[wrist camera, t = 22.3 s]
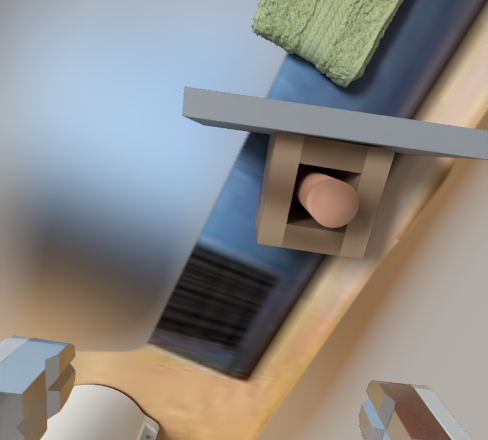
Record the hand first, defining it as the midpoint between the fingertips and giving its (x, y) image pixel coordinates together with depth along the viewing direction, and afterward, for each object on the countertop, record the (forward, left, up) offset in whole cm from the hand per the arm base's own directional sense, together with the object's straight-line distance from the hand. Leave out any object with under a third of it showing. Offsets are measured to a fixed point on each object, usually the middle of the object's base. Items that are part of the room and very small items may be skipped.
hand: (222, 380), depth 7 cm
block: (+3, -7, -25) cm, 27 cm away
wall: (+9, -7, -25) cm, 28 cm away
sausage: (+3, -7, -25) cm, 27 cm away
